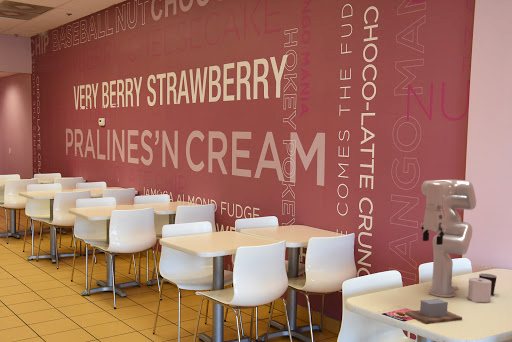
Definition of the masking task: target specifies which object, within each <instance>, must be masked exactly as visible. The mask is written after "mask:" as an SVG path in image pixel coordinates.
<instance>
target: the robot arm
mask: <svg viewBox="0 0 512 342" xmlns="http://www.w3.org/2000/svg"><path fill="white" fill-rule="evenodd" d="M420 189H421V193H422V194H423V195H424V196H426V199H425V202H426V203H425V210H424V216H423V221H421V222H420V227H421V228H420V229H421V233H422V241H423V242H428V241H429V240H430V232H435V233H436V235H434V236H433V237H432V249H433V250H432V251H433V260H432V261H433V263H432V264H433V266H432V267H433V269H432V283H431V284H432V286H431V287H432V288H431V289H429V290H428V293H429V294H430V295H431V296H434V297H439V298H440V297H441V298H453V297H455V293H454V292H455V291H458V290H459V286H453V285H452V284H453V283H452V282H453V267H454V262H453V259H452V257H451V254H452V255H453V254H454V255H459V256H463V255H466V254H467V252H468V250H469V246H470V243H471V240H472V236H473V227H472V225H471V223H469V222H465V221H462V217H461V215H460V214H459V212H457V210H467V211H470V210H471V211H473V210H474V209H476V206H477V198H476V192H475V189H474V185H473V184H472V182H471V181H470V180H465V179H464V180H463V179H438V180H437V179H435V180H424V181H423V182H422V184H421V187H420Z"/></svg>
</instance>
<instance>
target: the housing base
mask: <svg viewBox="0 0 512 342" xmlns="http://www.w3.org/2000/svg"><path fill="white" fill-rule="evenodd" d="M404 313H405V315H406V316H408V317H410V318H412V319H414V320H417V321H419V322H421V323H422V324H425V325H431V324H439V323H448V322H456V321H463V316H460V315H458V314H456V313H453V312H451V311H448V310H447V316H438V317H427V316H425V315H423V314H420V309H419V310H410V311H408V310H407V311H404Z"/></svg>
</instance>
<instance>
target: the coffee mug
mask: <svg viewBox="0 0 512 342" xmlns="http://www.w3.org/2000/svg"><path fill="white" fill-rule="evenodd" d="M478 278H483V279H487V280H490V281H491V282H492V283H491V295H492V296H494V295H493V294H494V293H495V289H496V288H495V287H496V283H497V275H495V274H493V273H492V274H491V273H479V274H478Z"/></svg>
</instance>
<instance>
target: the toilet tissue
mask: <svg viewBox="0 0 512 342" xmlns="http://www.w3.org/2000/svg"><path fill="white" fill-rule="evenodd" d="M491 283H492V282H491V281H490V280H487V279H483V278H479V277H469V278H468V286H467V287H468V291H467V299H468V300H470V301H472V302H473V303H474V302H475V303H490V302H491V300H492V299H491V297H492V296H491Z"/></svg>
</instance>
